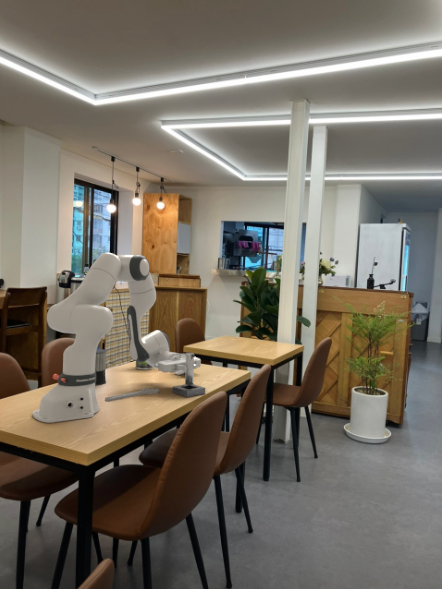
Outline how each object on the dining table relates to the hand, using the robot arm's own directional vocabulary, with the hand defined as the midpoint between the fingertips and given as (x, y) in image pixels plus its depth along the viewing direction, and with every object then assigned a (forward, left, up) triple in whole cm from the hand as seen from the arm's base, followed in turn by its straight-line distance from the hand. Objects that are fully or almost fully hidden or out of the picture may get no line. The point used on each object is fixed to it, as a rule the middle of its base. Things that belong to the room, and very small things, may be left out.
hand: (191, 367), depth 197 cm
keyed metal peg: (0, +1, -7) cm, 7 cm away
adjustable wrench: (-21, +12, -12) cm, 27 cm away
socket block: (0, +1, -11) cm, 11 cm away
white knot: (+21, +30, -11) cm, 38 cm away
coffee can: (+14, +55, -11) cm, 58 cm away
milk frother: (-25, +43, -11) cm, 51 cm away
